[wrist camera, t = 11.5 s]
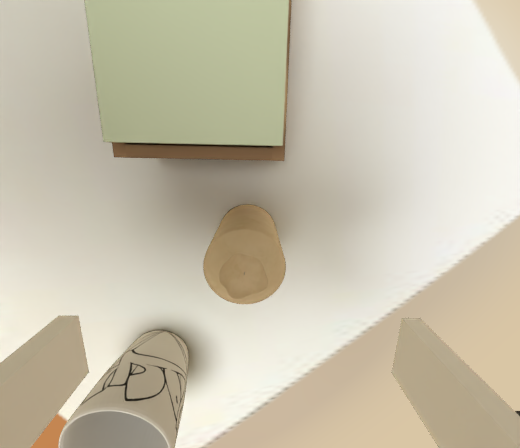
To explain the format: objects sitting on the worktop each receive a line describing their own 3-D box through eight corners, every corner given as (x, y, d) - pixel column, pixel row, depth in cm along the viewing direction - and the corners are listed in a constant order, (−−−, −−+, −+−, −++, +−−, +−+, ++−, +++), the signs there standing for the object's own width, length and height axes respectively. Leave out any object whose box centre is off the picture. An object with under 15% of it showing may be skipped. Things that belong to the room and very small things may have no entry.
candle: (284, 217, 25) (304, 258, 15) (261, 264, 26) (265, 329, 17) (233, 194, 24) (219, 221, 15) (211, 243, 26) (185, 298, 16)
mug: (186, 406, 31) (156, 521, 21) (116, 394, 30) (52, 506, 21) (205, 329, 28) (180, 420, 19) (128, 313, 27) (60, 399, 18)
